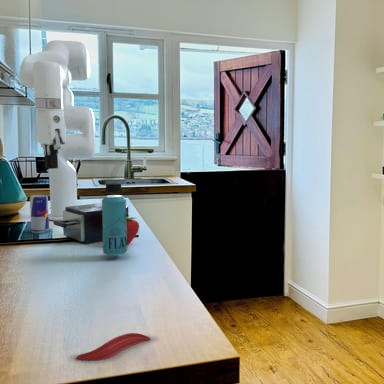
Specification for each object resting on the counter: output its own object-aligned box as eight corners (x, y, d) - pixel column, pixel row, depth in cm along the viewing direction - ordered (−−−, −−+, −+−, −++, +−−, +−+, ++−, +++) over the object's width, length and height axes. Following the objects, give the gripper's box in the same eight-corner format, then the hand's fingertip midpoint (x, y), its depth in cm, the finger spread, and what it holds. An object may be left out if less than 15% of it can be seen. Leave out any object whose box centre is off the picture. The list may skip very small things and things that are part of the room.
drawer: (67, 243, 138) (66, 217, 137) (49, 237, 146) (48, 212, 145) (121, 234, 151) (120, 210, 150) (102, 229, 159) (102, 205, 157)
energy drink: (42, 234, 154) (41, 197, 152) (27, 233, 155) (26, 196, 153) (52, 230, 159) (51, 194, 158) (38, 229, 160) (36, 194, 159)
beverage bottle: (105, 262, 123) (103, 184, 120) (100, 256, 129) (98, 182, 126) (130, 259, 126) (129, 183, 123) (124, 253, 132) (122, 181, 129)
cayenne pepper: (78, 364, 70) (78, 352, 70) (72, 351, 74) (72, 339, 74) (157, 347, 76) (157, 335, 76) (147, 336, 80) (147, 325, 80)
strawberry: (111, 244, 142) (110, 210, 141) (136, 241, 146) (135, 209, 145) (117, 248, 137) (116, 214, 136) (142, 245, 141) (142, 212, 140)
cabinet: (86, 244, 142) (85, 212, 140) (66, 237, 150) (65, 206, 149) (128, 236, 152) (128, 206, 151) (107, 230, 161) (107, 202, 159)
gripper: (73, 105, 136) (75, 169, 139) (50, 105, 147) (52, 165, 150) (47, 104, 131) (49, 171, 134) (25, 105, 142) (28, 167, 144)
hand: (51, 168), depth 142 cm, fingers closed
